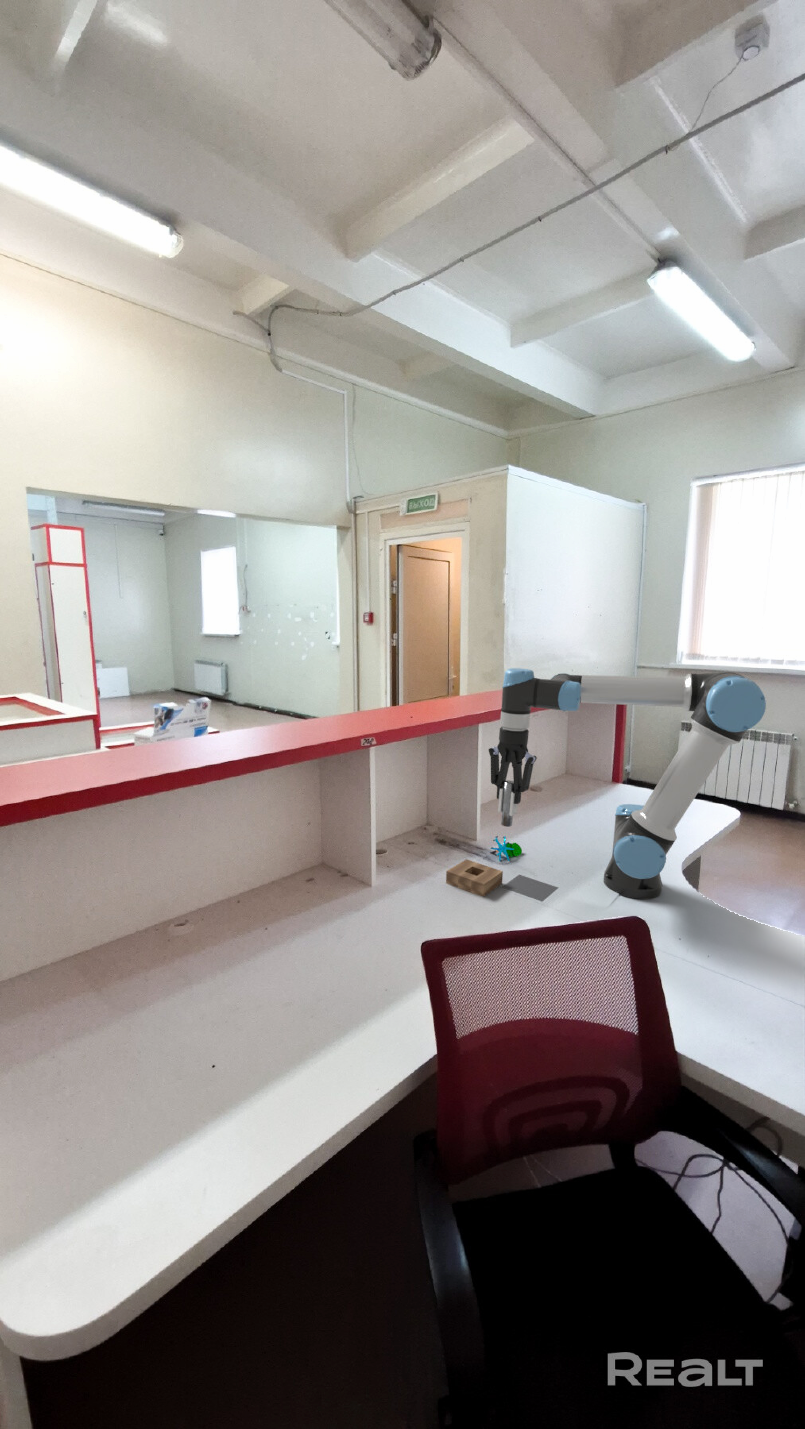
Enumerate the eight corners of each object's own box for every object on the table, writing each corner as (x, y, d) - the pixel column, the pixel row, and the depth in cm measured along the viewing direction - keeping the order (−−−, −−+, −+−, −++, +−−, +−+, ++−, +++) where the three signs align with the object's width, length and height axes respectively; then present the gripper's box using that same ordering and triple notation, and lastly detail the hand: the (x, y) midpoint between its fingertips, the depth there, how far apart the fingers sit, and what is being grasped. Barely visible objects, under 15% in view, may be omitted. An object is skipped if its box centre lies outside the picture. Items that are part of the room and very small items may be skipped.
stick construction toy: (497, 859, 174) (493, 833, 177) (482, 865, 179) (478, 840, 182) (526, 862, 180) (522, 837, 184) (511, 867, 185) (506, 843, 189)
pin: (514, 824, 159) (517, 782, 156) (508, 827, 156) (512, 784, 154) (504, 821, 160) (507, 779, 158) (498, 824, 158) (502, 782, 156)
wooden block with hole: (502, 884, 162) (502, 871, 162) (483, 898, 155) (483, 884, 154) (465, 872, 170) (466, 859, 169) (446, 884, 162) (446, 870, 162)
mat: (558, 888, 161) (558, 887, 160) (542, 902, 153) (542, 901, 153) (519, 875, 168) (519, 874, 168) (501, 888, 160) (501, 887, 160)
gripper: (548, 731, 151) (540, 816, 156) (495, 720, 161) (489, 801, 165) (535, 735, 145) (527, 824, 150) (480, 724, 155) (474, 808, 160)
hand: (507, 812), depth 158 cm, fingers closed on pin, 3 cm apart
